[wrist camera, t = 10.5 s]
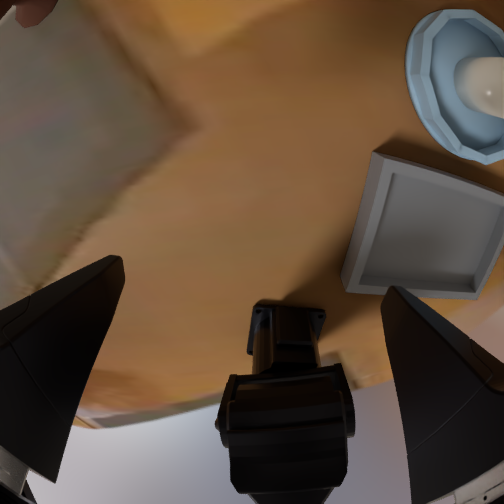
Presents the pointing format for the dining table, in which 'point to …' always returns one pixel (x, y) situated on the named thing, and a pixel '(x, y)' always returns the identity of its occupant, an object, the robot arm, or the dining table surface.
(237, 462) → the robot arm
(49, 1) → the ice cream bowl
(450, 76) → the blue ring
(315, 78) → the dining table surface
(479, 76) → the white marshmallow
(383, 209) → the parts tray
